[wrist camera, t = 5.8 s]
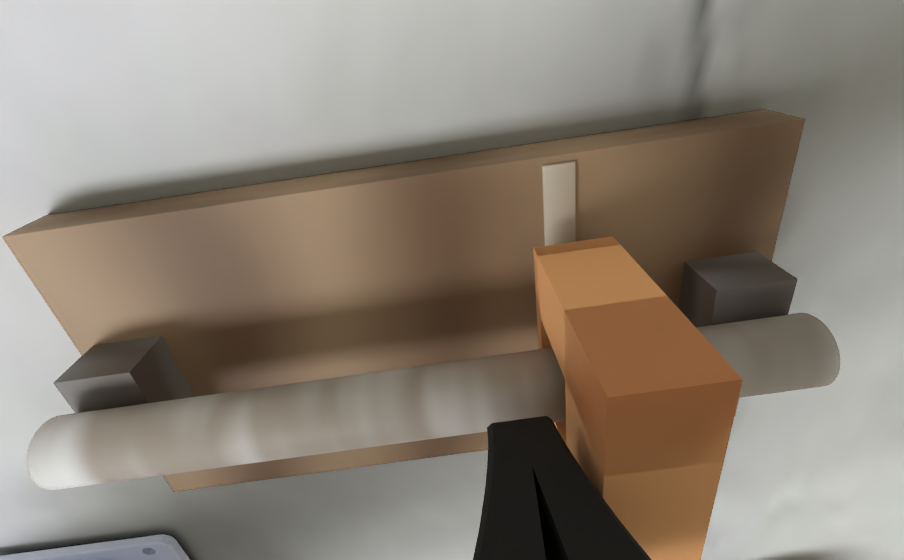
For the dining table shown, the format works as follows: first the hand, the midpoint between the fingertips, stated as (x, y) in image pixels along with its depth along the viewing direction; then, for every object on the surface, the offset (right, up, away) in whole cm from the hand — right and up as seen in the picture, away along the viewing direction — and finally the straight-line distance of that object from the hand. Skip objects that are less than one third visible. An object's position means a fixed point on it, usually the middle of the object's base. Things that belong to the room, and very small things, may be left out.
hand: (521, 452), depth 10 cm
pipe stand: (-2, +3, +5) cm, 6 cm away
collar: (+2, +2, +3) cm, 4 cm away
